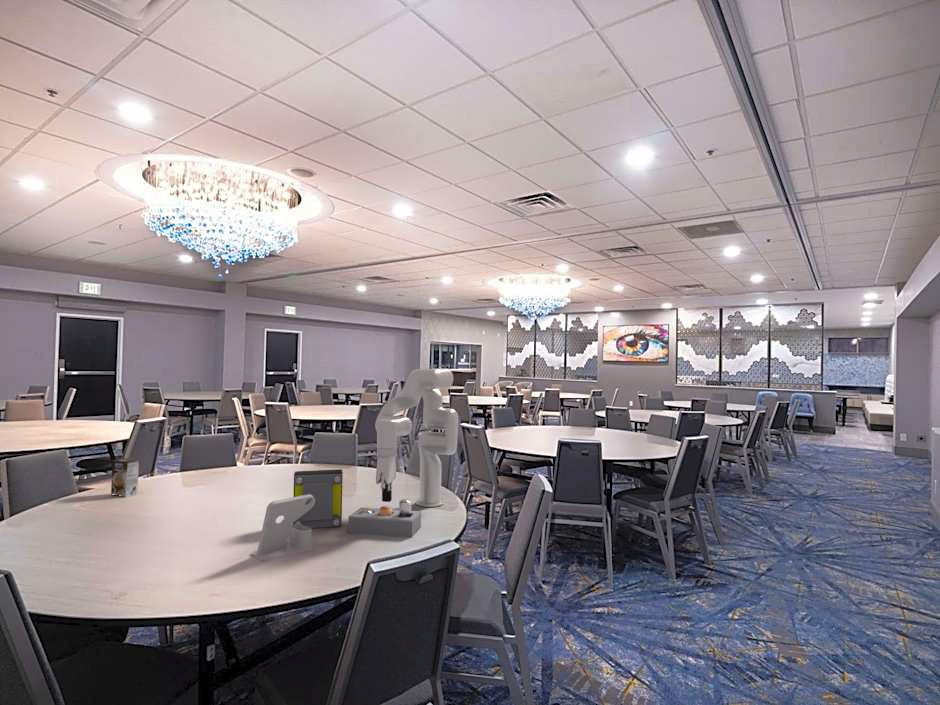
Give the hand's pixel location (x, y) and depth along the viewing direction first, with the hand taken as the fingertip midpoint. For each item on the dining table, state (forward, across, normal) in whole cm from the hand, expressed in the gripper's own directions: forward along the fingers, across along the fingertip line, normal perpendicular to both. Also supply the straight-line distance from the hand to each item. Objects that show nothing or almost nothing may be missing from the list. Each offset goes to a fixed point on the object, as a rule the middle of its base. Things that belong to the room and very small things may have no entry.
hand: (386, 501), depth 195 cm
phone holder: (+10, +29, -25) cm, 40 cm away
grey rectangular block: (+10, +1, 0) cm, 11 cm away
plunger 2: (+4, +1, +7) cm, 9 cm away
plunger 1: (+9, +1, -8) cm, 12 cm away
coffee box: (+11, -22, -133) cm, 135 cm away
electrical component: (+11, +1, -27) cm, 29 cm away
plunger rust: (+7, +1, 0) cm, 7 cm away
